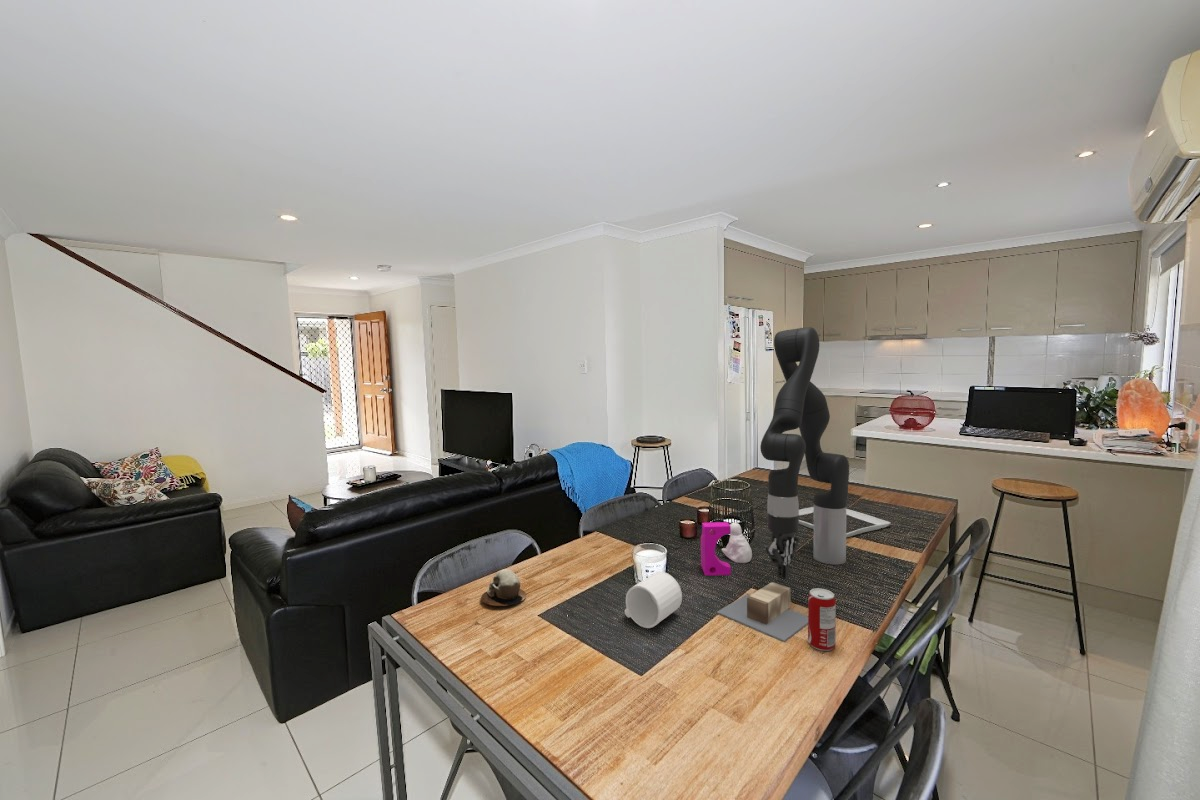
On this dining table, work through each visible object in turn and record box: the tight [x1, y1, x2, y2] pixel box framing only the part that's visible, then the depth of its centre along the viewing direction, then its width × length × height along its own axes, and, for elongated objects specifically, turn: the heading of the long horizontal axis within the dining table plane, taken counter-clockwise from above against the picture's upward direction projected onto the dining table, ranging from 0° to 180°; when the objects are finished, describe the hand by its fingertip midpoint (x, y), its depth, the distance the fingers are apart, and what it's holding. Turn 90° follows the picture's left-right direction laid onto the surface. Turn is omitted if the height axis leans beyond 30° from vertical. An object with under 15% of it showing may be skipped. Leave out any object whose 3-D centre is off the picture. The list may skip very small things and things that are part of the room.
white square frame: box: [799, 506, 891, 538], centre depth 187 cm, size 27×27×4 cm
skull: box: [480, 568, 527, 607], centre depth 136 cm, size 12×10×10 cm
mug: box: [624, 571, 683, 629], centre depth 123 cm, size 13×10×10 cm
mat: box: [716, 593, 808, 643], centre depth 122 cm, size 14×18×1 cm
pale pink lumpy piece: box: [721, 522, 753, 564], centre depth 156 cm, size 6×8×12 cm
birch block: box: [747, 581, 792, 625], centre depth 124 cm, size 5×5×12 cm
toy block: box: [700, 521, 732, 576], centre depth 148 cm, size 15×6×8 cm
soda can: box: [807, 587, 837, 652], centre depth 109 cm, size 6×6×12 cm
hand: (782, 577), depth 128 cm, fingers closed
